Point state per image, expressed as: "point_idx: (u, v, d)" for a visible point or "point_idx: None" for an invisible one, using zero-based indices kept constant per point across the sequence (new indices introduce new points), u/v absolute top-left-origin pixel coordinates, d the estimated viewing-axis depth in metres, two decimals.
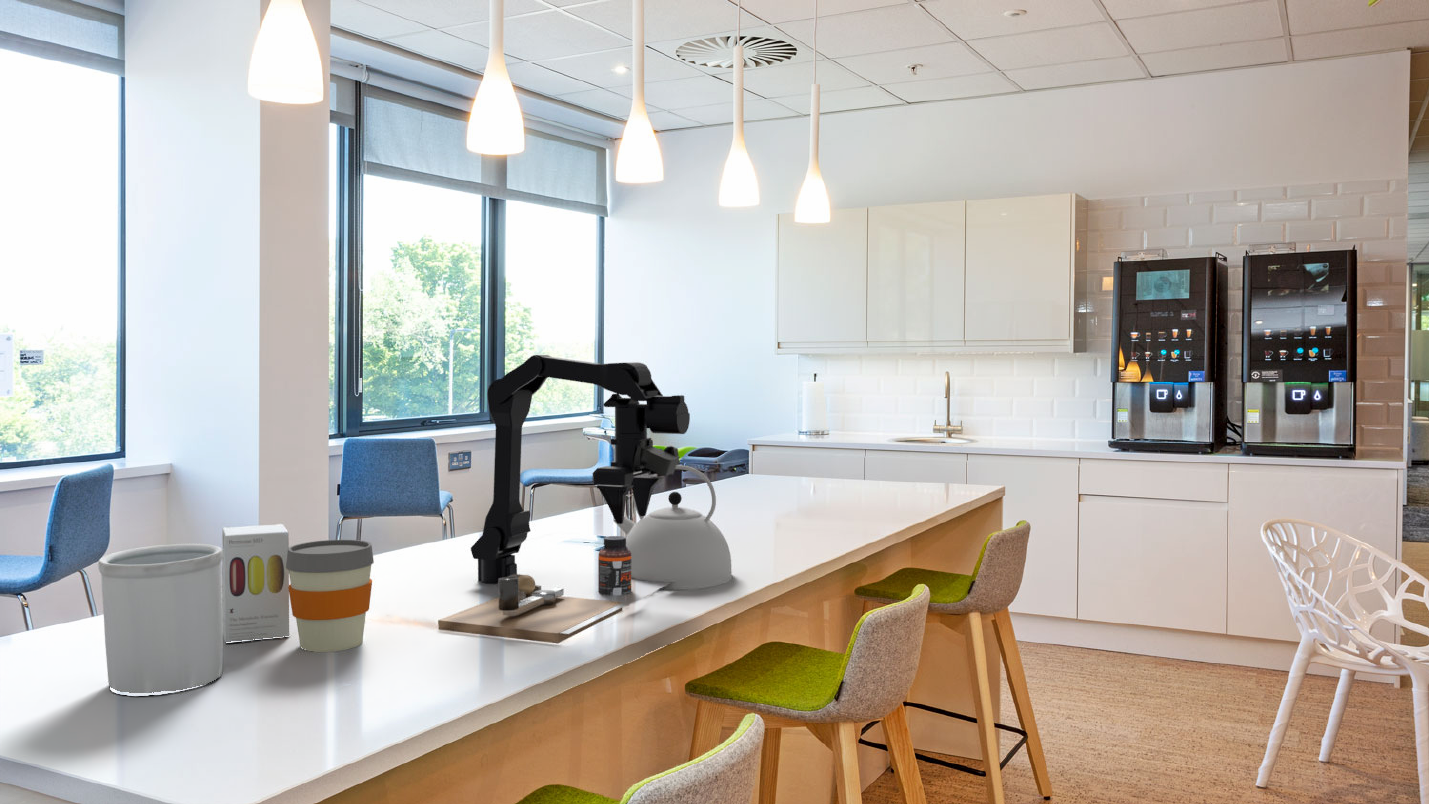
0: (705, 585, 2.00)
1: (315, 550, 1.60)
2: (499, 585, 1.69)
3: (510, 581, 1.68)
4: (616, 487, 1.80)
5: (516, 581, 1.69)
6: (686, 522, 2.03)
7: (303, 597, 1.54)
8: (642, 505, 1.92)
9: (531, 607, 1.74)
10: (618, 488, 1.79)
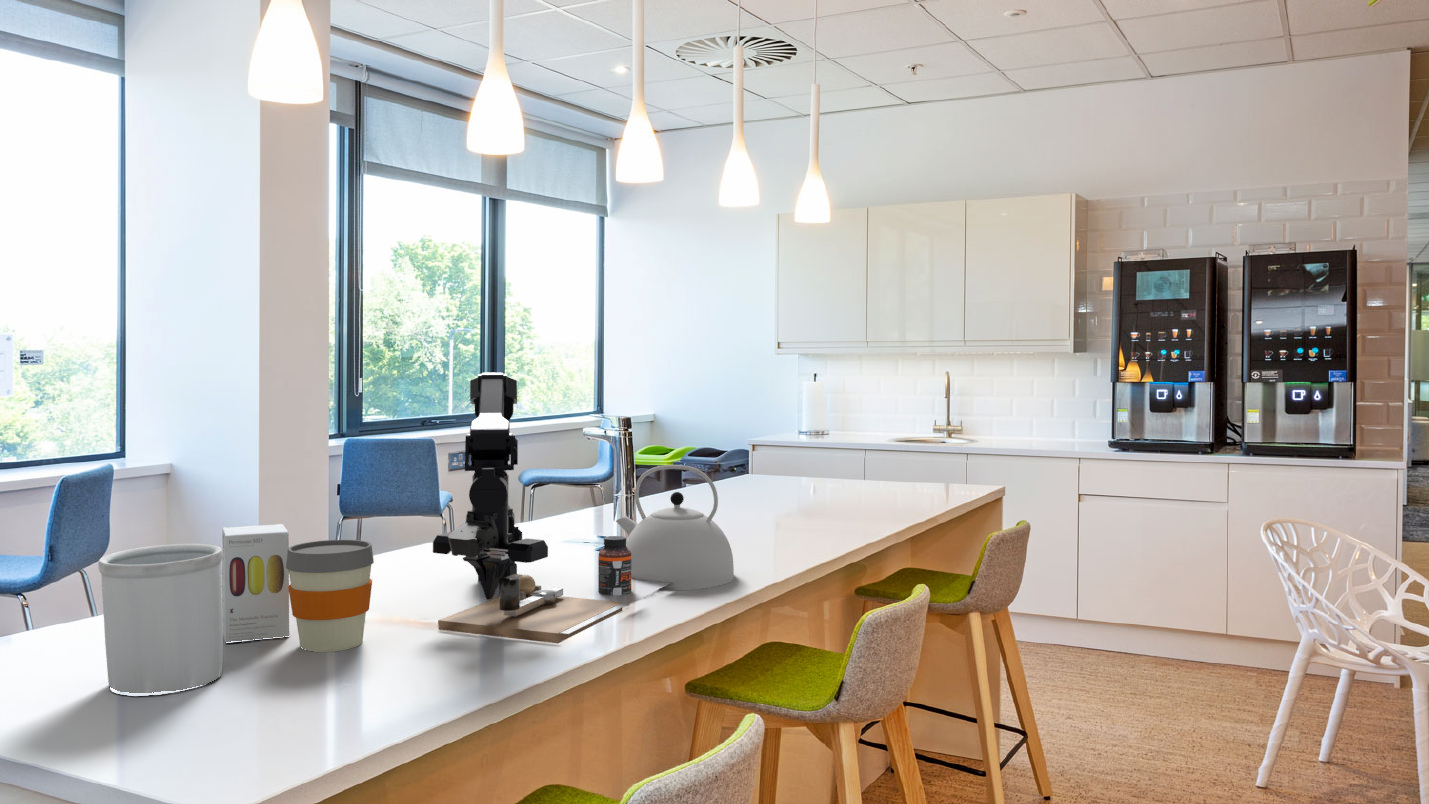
0: (707, 585, 1.99)
1: (315, 550, 1.60)
2: (500, 585, 1.68)
3: (511, 581, 1.68)
4: None
5: (517, 581, 1.69)
6: (688, 522, 2.03)
7: (303, 597, 1.54)
8: None
9: (532, 607, 1.74)
10: None
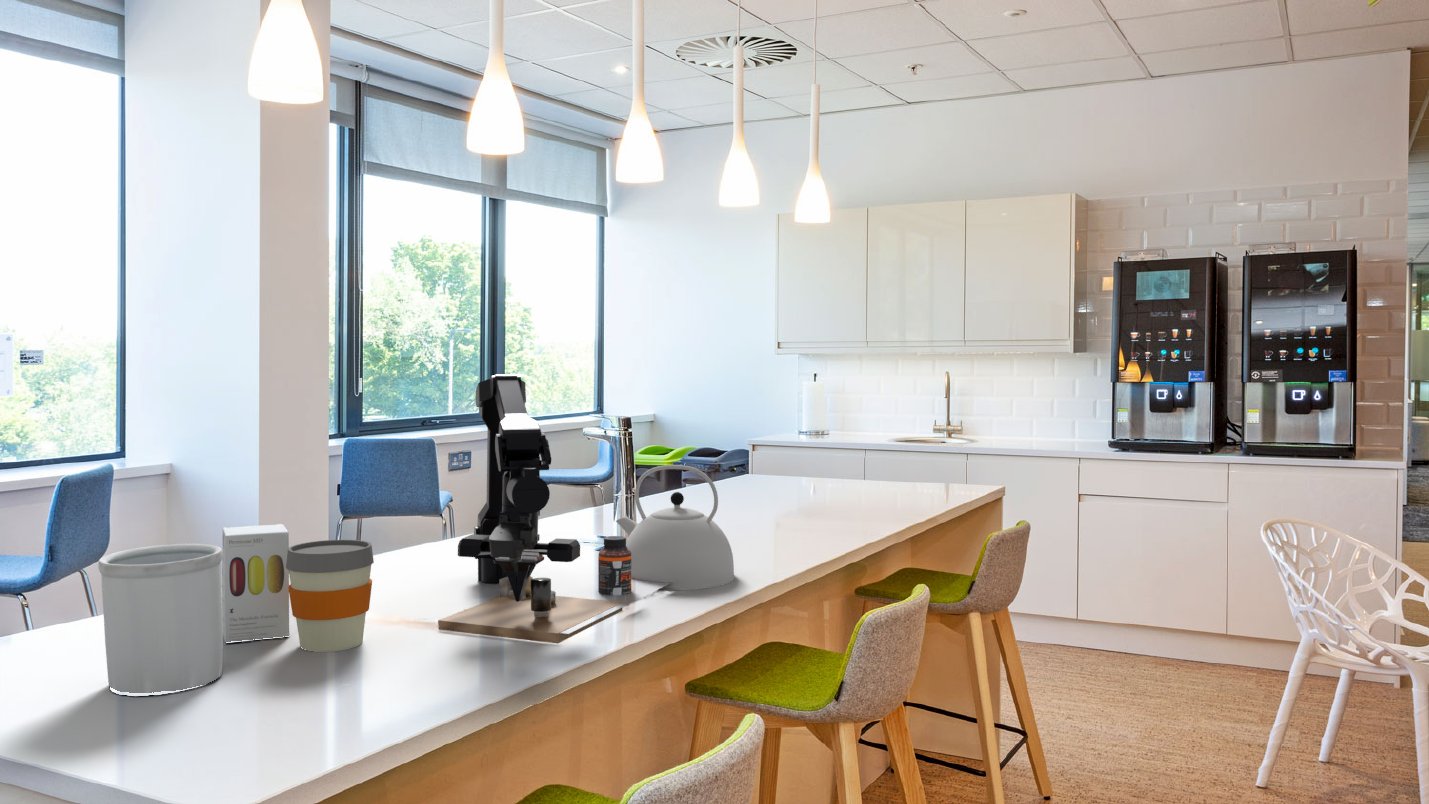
0: (707, 586, 1.99)
1: (315, 550, 1.60)
2: (535, 587, 1.67)
3: (547, 581, 1.68)
4: None
5: (550, 581, 1.69)
6: (688, 522, 2.02)
7: (303, 597, 1.54)
8: None
9: None
10: None
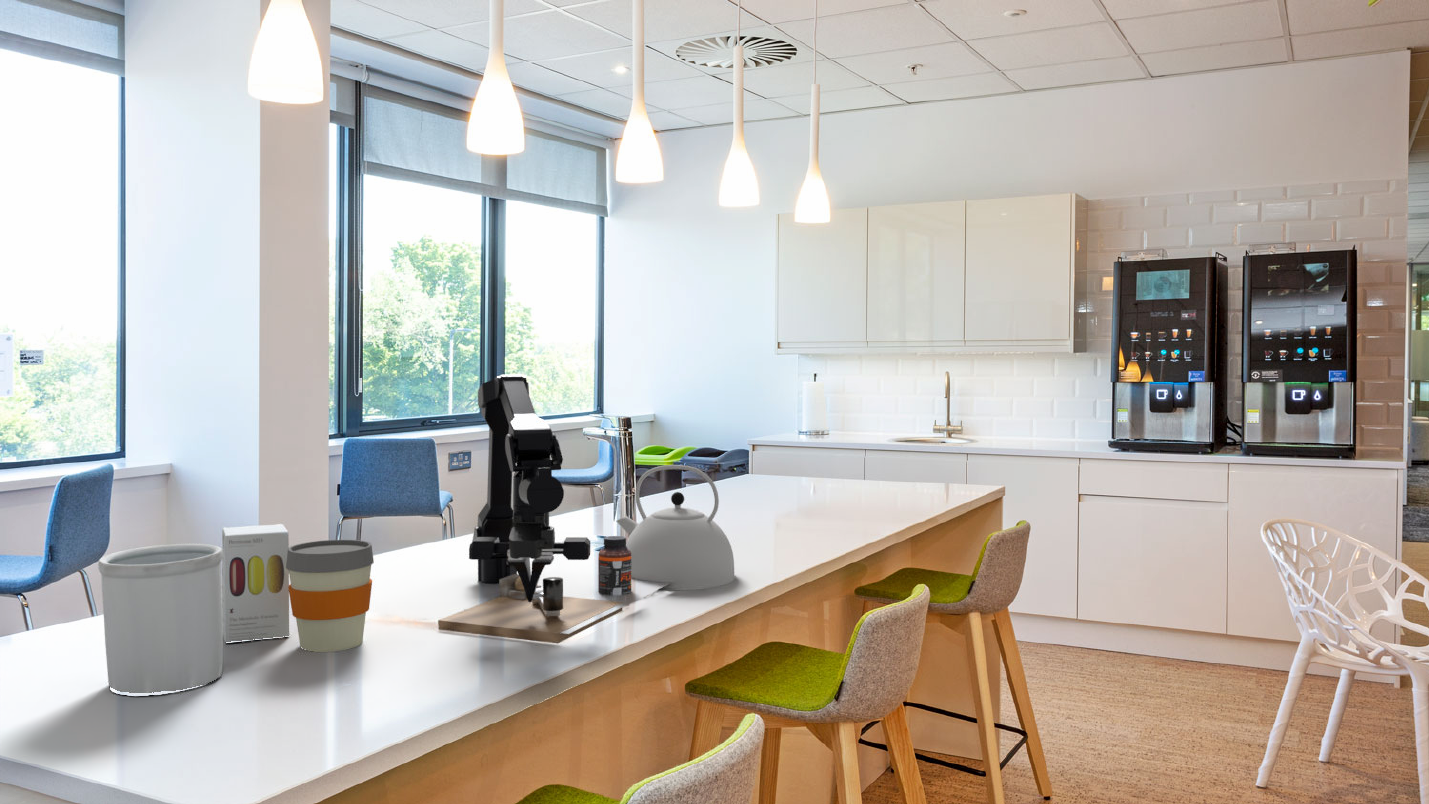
0: (708, 586, 1.99)
1: (315, 550, 1.60)
2: (549, 586, 1.68)
3: (560, 580, 1.68)
4: (508, 560, 1.67)
5: (562, 580, 1.69)
6: (689, 522, 2.02)
7: (303, 597, 1.54)
8: None
9: None
10: None
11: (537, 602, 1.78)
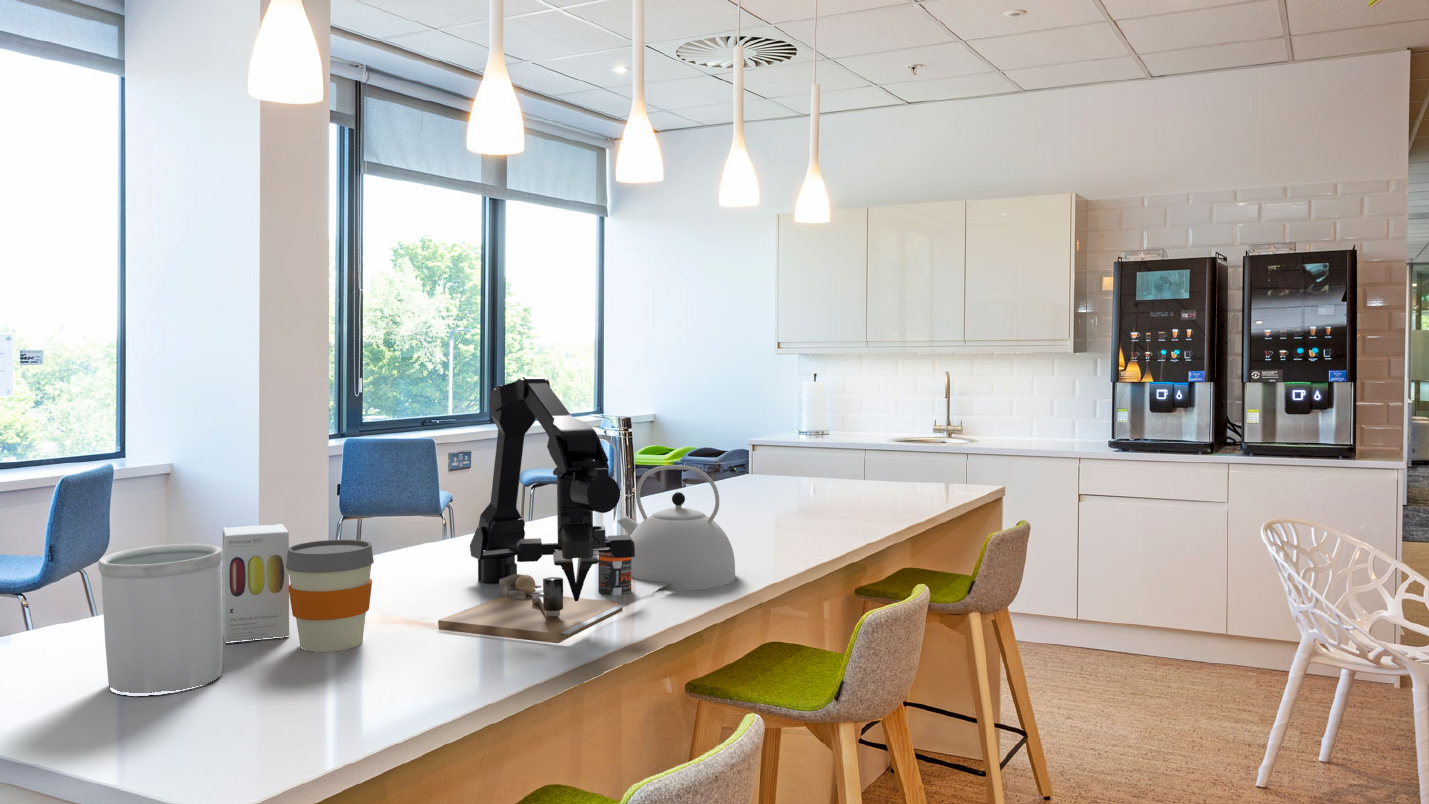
0: (708, 586, 1.99)
1: (315, 550, 1.60)
2: (549, 586, 1.68)
3: (560, 580, 1.68)
4: (554, 561, 1.68)
5: None
6: (689, 522, 2.02)
7: (303, 597, 1.54)
8: None
9: None
10: (554, 563, 1.68)
11: (537, 602, 1.78)
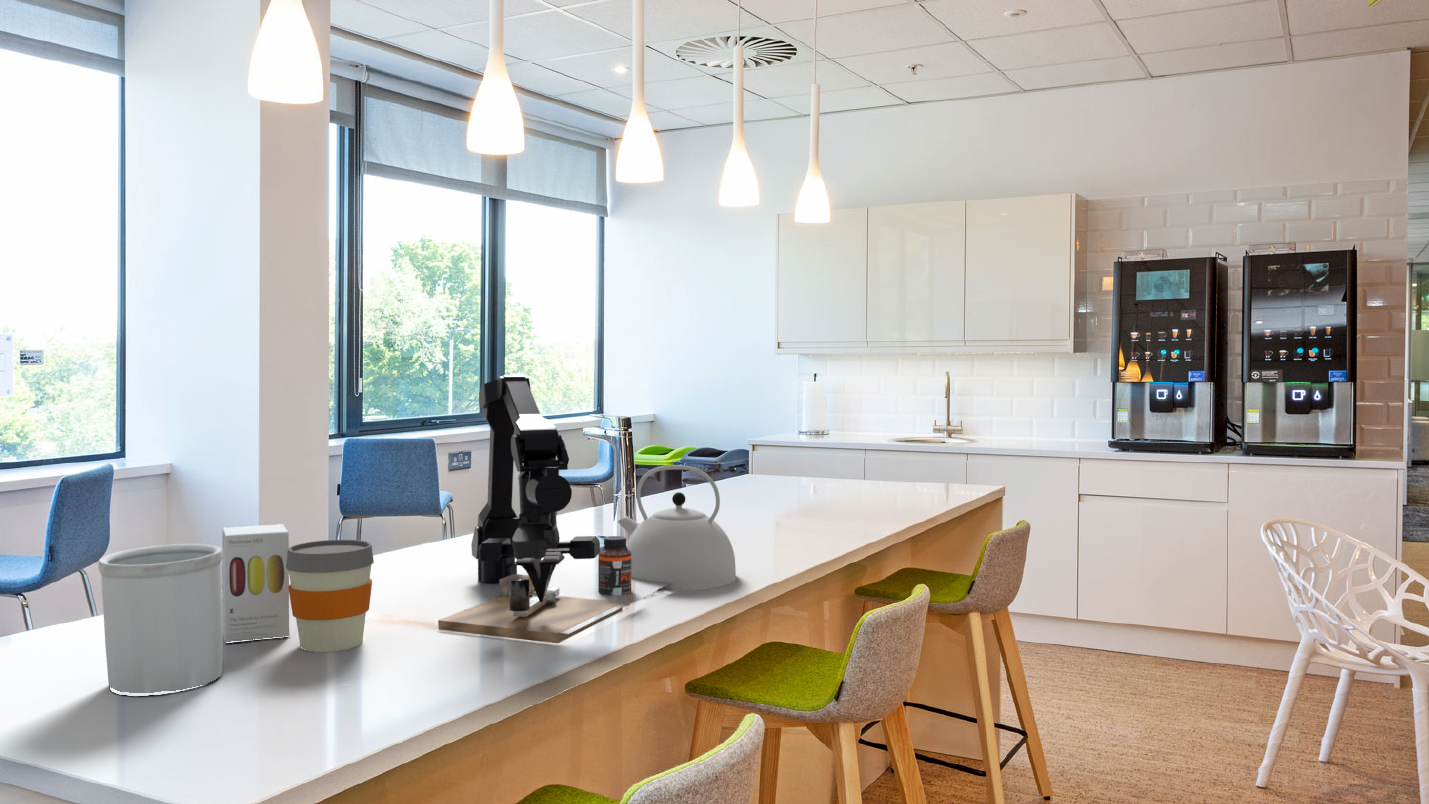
0: (709, 586, 1.99)
1: (315, 550, 1.60)
2: (511, 586, 1.68)
3: (523, 582, 1.68)
4: None
5: (528, 581, 1.68)
6: (690, 523, 2.02)
7: (303, 597, 1.54)
8: None
9: (537, 607, 1.74)
10: None
11: None
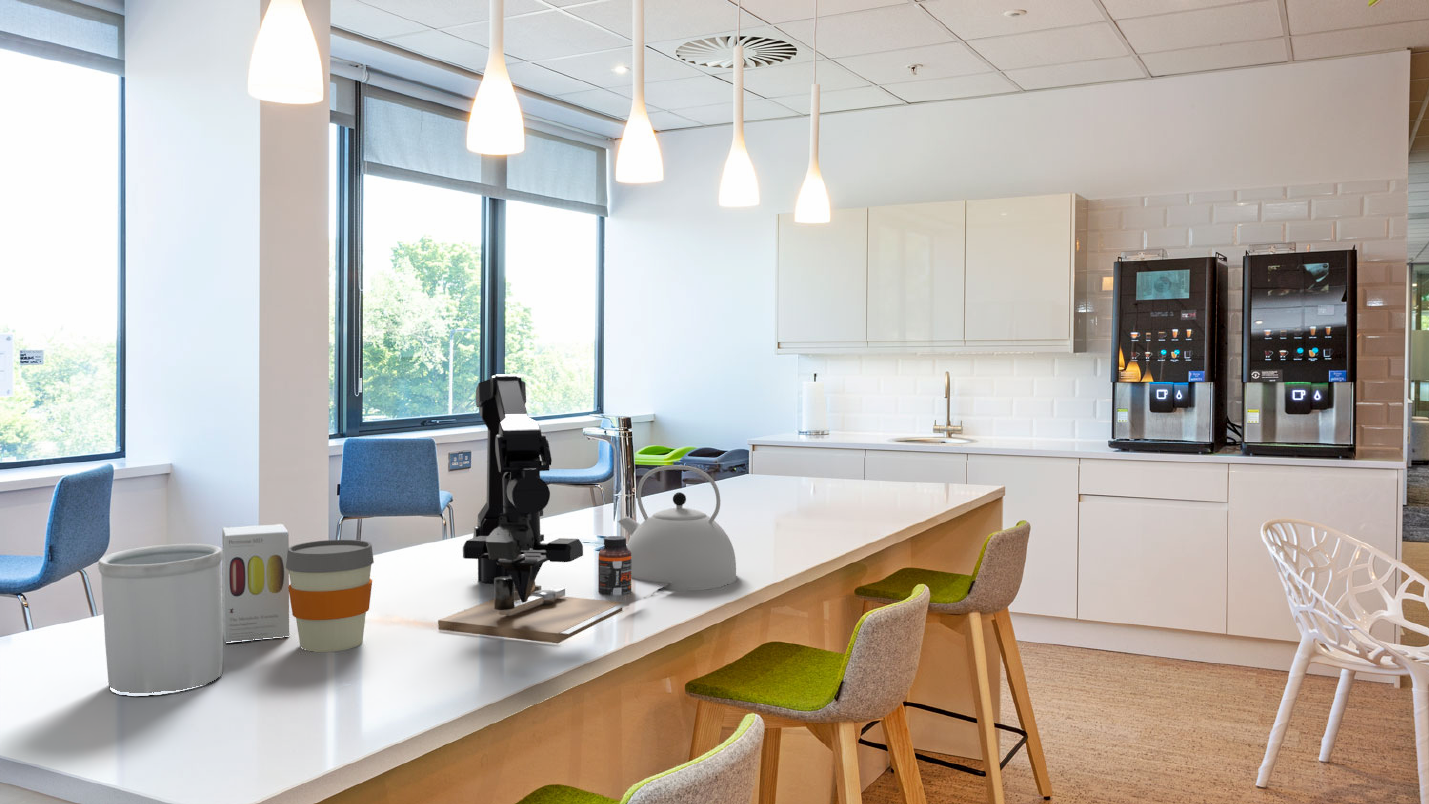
0: (709, 586, 1.99)
1: (315, 550, 1.60)
2: (495, 584, 1.69)
3: (505, 581, 1.68)
4: None
5: (511, 581, 1.69)
6: (690, 523, 2.02)
7: (303, 597, 1.54)
8: None
9: (529, 607, 1.74)
10: None
11: None
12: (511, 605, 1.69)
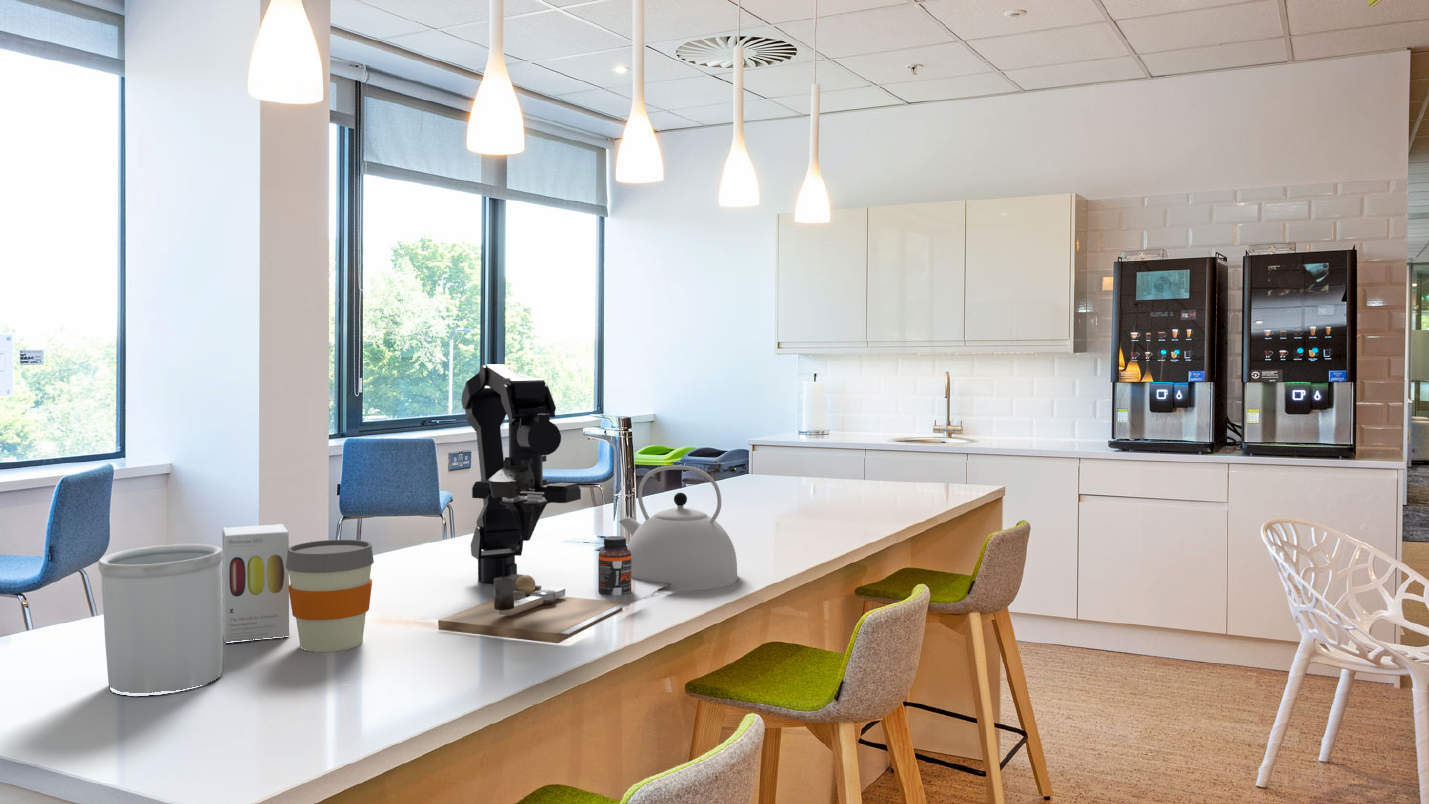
0: (710, 587, 1.98)
1: (315, 550, 1.60)
2: (494, 584, 1.69)
3: (505, 581, 1.68)
4: None
5: (511, 581, 1.69)
6: (691, 523, 2.02)
7: (303, 597, 1.54)
8: None
9: (528, 607, 1.74)
10: None
11: None
12: (511, 605, 1.69)
